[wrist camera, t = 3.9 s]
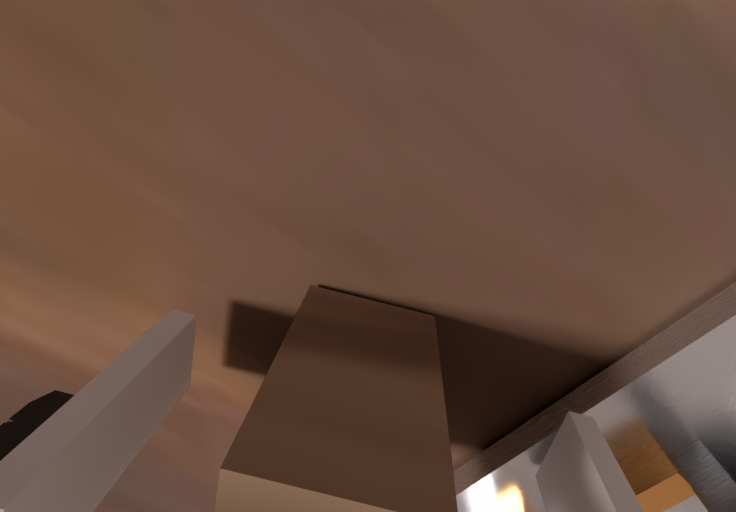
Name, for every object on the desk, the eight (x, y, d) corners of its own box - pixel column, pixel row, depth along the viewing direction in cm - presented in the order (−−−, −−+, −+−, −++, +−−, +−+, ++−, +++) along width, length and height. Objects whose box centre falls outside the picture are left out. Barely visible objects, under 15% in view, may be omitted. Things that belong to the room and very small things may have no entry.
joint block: (310, 285, 13) (203, 500, 6) (435, 316, 13) (464, 565, 6) (285, 408, 15) (182, 680, 8) (395, 435, 15) (384, 730, 8)
